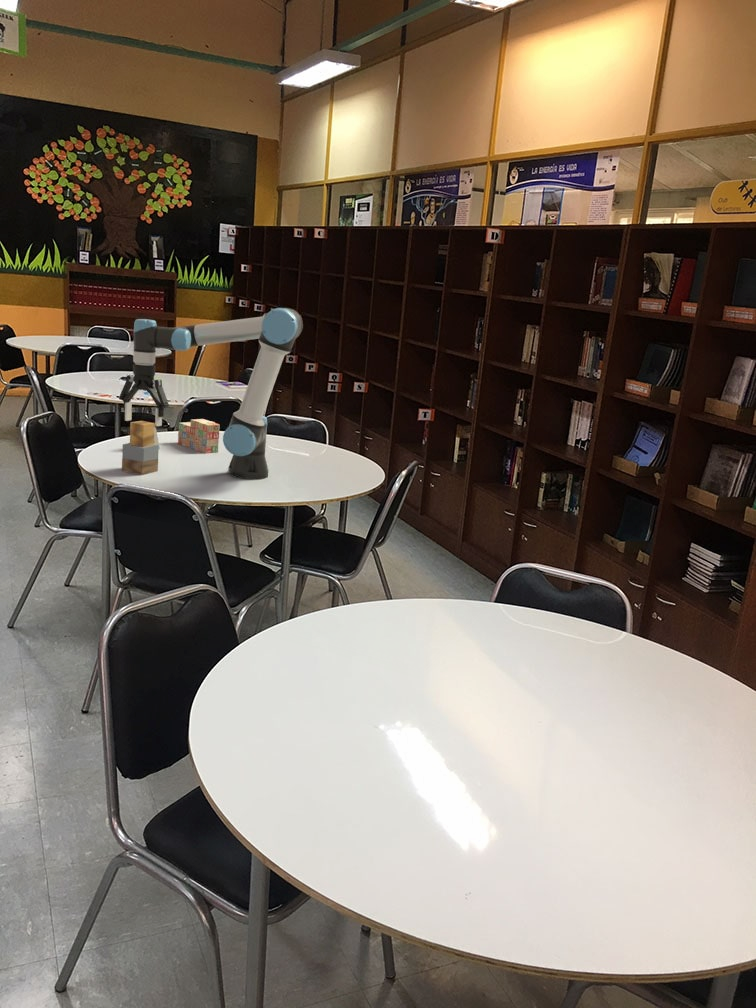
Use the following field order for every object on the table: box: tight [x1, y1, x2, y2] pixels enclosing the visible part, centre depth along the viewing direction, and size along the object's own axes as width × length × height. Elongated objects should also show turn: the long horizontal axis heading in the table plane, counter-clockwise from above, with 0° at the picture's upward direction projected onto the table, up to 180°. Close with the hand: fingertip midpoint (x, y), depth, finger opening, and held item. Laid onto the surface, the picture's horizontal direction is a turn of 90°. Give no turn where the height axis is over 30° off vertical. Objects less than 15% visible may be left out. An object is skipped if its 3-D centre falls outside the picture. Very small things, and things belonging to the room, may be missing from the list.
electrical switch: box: [154, 427, 161, 450], centre depth 337 cm, size 9×5×9 cm, turn 152°
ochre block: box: [129, 420, 156, 447], centre depth 299 cm, size 6×6×8 cm
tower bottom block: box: [121, 457, 159, 476], centre depth 302 cm, size 9×9×5 cm
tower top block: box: [121, 442, 160, 462], centre depth 301 cm, size 9×9×5 cm
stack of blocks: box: [177, 418, 221, 455], centre depth 350 cm, size 21×6×12 cm, turn 46°
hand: (143, 423), depth 298 cm, fingers open, 13 cm apart
